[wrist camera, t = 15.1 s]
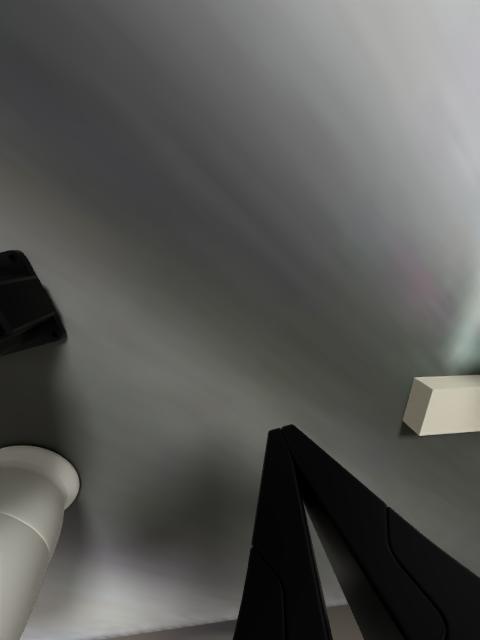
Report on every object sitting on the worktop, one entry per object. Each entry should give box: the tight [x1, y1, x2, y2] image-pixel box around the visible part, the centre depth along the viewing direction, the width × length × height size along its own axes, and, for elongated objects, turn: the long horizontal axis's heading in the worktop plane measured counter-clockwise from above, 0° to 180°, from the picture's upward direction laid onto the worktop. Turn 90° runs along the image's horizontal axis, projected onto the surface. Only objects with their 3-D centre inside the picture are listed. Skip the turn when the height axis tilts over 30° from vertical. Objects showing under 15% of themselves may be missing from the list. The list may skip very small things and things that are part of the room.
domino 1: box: [403, 375, 480, 436], centre depth 23 cm, size 2×5×10 cm
